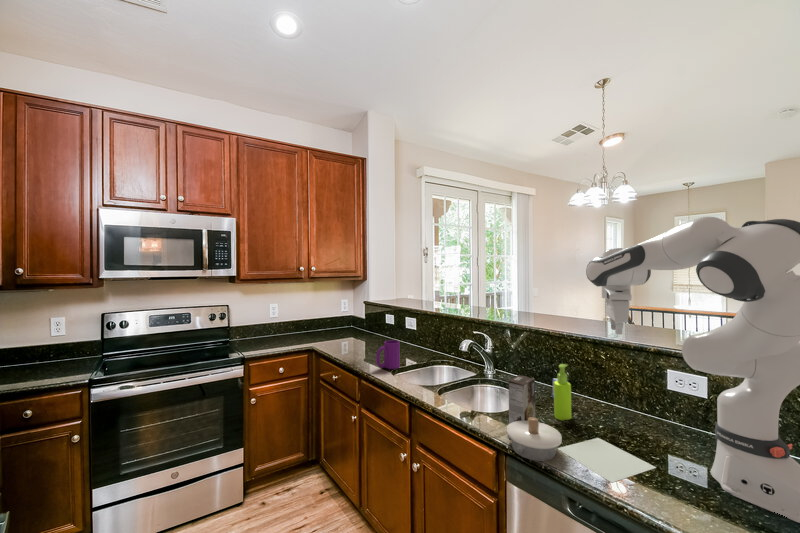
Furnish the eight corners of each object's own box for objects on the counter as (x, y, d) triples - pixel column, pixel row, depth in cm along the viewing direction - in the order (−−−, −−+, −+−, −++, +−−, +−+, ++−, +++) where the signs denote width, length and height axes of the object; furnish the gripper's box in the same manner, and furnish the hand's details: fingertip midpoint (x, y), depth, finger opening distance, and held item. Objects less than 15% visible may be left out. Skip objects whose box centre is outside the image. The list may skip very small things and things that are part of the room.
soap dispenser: (574, 416, 128) (573, 364, 128) (568, 422, 123) (568, 368, 123) (558, 412, 132) (557, 361, 132) (552, 417, 127) (551, 365, 127)
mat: (656, 469, 94) (656, 467, 94) (611, 484, 87) (611, 482, 87) (598, 439, 110) (598, 437, 110) (557, 450, 104) (556, 448, 104)
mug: (403, 367, 194) (402, 341, 194) (381, 372, 184) (381, 345, 184) (393, 364, 201) (393, 339, 201) (372, 369, 191) (372, 343, 191)
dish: (550, 441, 110) (550, 426, 110) (565, 465, 96) (564, 448, 96) (505, 438, 112) (505, 423, 112) (513, 461, 98) (513, 444, 98)
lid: (572, 438, 102) (572, 422, 102) (541, 454, 93) (540, 437, 93) (527, 419, 115) (527, 404, 115) (496, 431, 106) (496, 416, 106)
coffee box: (519, 416, 128) (519, 374, 128) (535, 421, 124) (535, 378, 124) (508, 424, 122) (507, 380, 122) (525, 430, 117) (524, 384, 117)
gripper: (601, 291, 131) (601, 326, 131) (610, 295, 112) (611, 336, 112) (620, 292, 128) (620, 327, 128) (632, 295, 110) (633, 337, 109)
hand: (616, 331), depth 120 cm, fingers open, 8 cm apart
